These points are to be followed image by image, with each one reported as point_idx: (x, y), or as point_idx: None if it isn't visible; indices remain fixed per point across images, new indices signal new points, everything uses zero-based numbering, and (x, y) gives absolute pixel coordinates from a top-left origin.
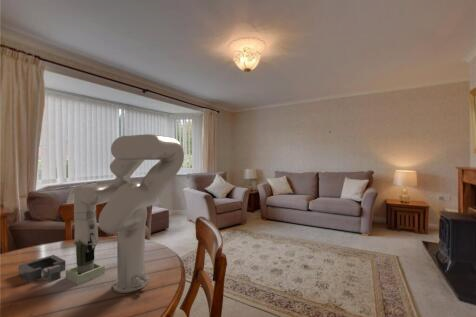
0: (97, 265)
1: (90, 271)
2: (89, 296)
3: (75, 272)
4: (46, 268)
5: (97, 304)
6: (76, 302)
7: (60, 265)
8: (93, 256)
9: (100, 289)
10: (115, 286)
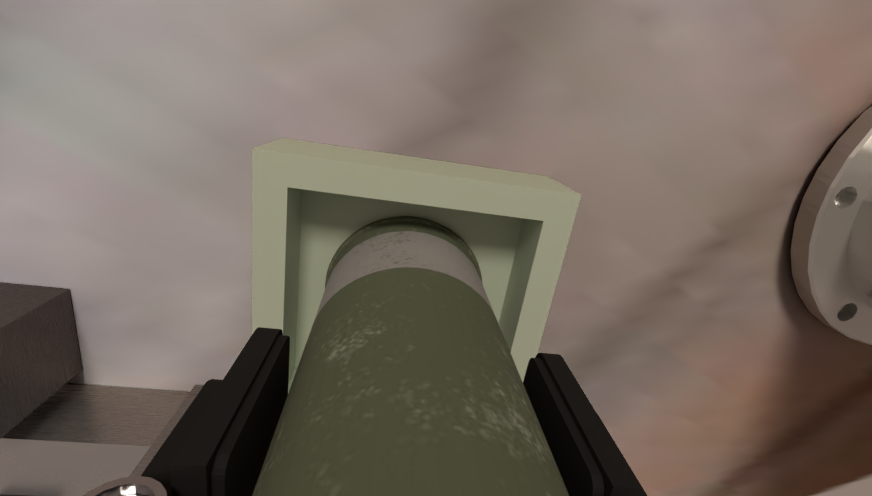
0: (464, 209)
1: (538, 341)
2: (708, 424)
3: (299, 326)
4: (7, 474)
5: (818, 446)
6: (679, 481)
7: (19, 369)
8: (576, 397)
9: (720, 353)
10: (865, 327)
